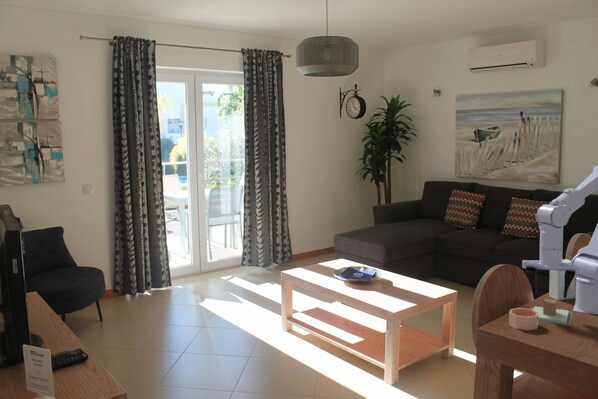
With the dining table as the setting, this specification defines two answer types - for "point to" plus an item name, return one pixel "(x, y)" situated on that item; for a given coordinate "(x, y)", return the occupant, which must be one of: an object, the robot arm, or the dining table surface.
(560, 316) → the sage lid
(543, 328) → the dining table surface
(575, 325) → the dining table surface
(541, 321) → the grey mat
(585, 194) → the robot arm
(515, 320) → the terracotta bowl
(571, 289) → the skincare box
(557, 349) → the dining table surface
